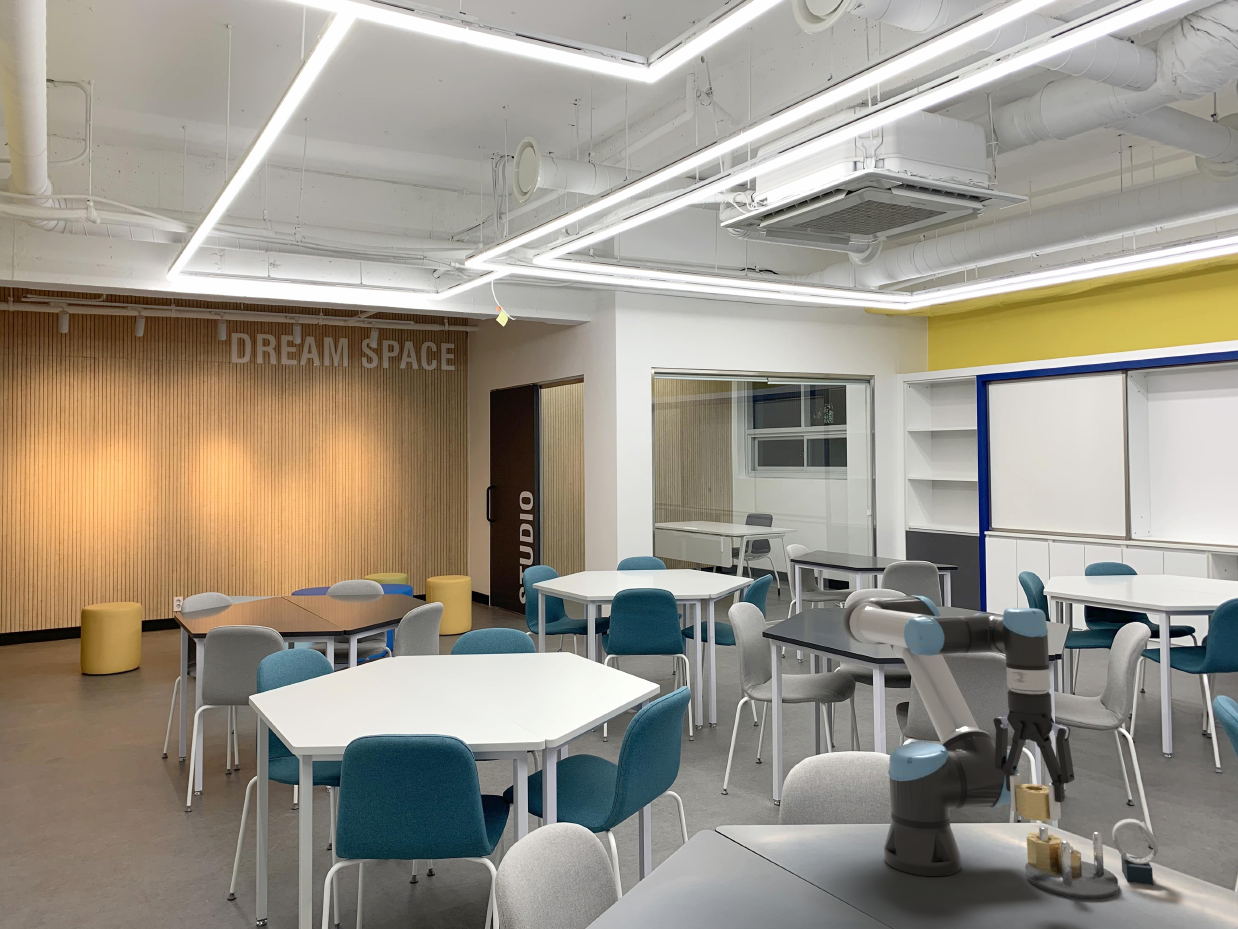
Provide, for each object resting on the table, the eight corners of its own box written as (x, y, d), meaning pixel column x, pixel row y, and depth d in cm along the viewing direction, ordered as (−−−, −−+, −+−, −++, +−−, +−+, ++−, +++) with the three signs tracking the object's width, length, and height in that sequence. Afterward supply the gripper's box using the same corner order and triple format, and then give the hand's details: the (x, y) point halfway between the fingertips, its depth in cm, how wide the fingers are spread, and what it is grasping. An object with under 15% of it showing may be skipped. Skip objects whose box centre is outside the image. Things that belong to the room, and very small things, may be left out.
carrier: (1020, 887, 163) (1017, 837, 164) (1031, 859, 177) (1029, 813, 178) (1115, 906, 155) (1112, 853, 155) (1120, 875, 168) (1117, 827, 169)
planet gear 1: (1016, 818, 159) (1014, 790, 160) (1020, 809, 164) (1018, 782, 165) (1052, 822, 156) (1050, 794, 157) (1054, 813, 161) (1052, 786, 162)
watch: (1165, 886, 163) (1161, 827, 164) (1117, 881, 166) (1113, 823, 166) (1158, 875, 168) (1154, 818, 169) (1111, 870, 171) (1108, 814, 172)
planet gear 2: (1026, 865, 170) (1025, 840, 170) (1030, 855, 175) (1029, 830, 175) (1060, 871, 167) (1058, 845, 167) (1063, 861, 172) (1062, 836, 172)
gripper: (970, 686, 167) (976, 806, 165) (1073, 700, 152) (1081, 832, 150) (989, 681, 172) (995, 798, 170) (1091, 694, 157) (1099, 822, 155)
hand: (1035, 814), depth 160 cm, fingers closed on planet gear 1, 6 cm apart
